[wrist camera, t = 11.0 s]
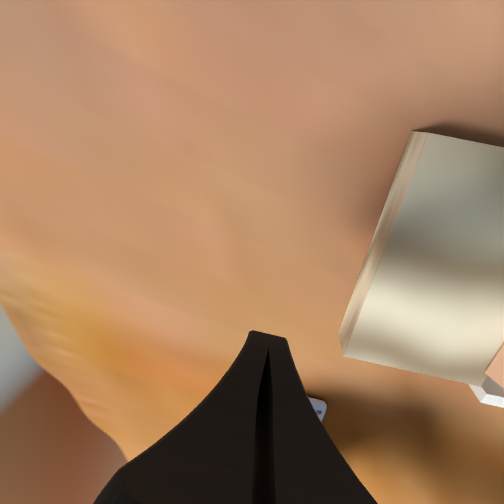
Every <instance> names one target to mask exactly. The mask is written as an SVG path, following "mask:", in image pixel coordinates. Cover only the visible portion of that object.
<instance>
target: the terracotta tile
mask: <svg viewBox="0 0 504 504" xmlns="http://www.w3.org/2000/svg"><path fill="white" fill-rule="evenodd" d="M485 374H486V375H488V376H489V377H490V378H491V379H492V380H494V381H495V382H496V383H497V384H499V385H500V386H501V387H502V388H503V389H504V344H503V346H502V347H501V349H500V350H499V352H498V353H497V355H496V356H495V358H494V359H493V361H492V362H491V364H490V365H489V367H488V368H487V370H486V371H485Z"/></svg>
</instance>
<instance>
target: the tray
mask: <svg viewBox="0 0 504 504" xmlns="http://www.w3.org/2000/svg"><path fill="white" fill-rule="evenodd" d="M469 386H470V387H471V389H472V390H473V392H474V393H475V395H476V396H477V398H478V399H479V401H480V402H481V403H485V404H489V405H494V406H498V407H503V408H504V389H503V388H502V387H501V386H500V385H499V384H497V383H496V382H495V381H494V380H492V379H491V378H490V377H489V376H487V378H486V379H485V381H484V382H483V384H482V385H481V387H479V386H475V385H471V384H469Z"/></svg>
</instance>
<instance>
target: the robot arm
mask: <svg viewBox="0 0 504 504" xmlns="http://www.w3.org/2000/svg"><path fill="white" fill-rule="evenodd" d="M326 409H327V406H326V403H325V402H324V401H322V400H318V399H314V398H309V397H308V396H307V393H306V391H305V389H304V387H303V384H302V382H301V379H300V377H299V375H298V372H297V370H296V367H295V364H294V361H293V359H292V356H291V352H290V349H289V346H288V342H287V340H286V338H283V337H279V336H275V335H271V334H266V333H262V332H258V331H254V330H252V331H250V332H249V334H248V337H247V340H246V342H245V344H244V346H243V348H242V350H241V351H240V353H239V355H238V356H237V358H236V359H235V361H234V362H233V364H232V365H231V367H230V368H229V370H228V371H227V372H226V374H225V375H224V376H223V377H222V379H221V380H220V381H219V383H218V384H217V385H216V386H215V387H214V389H213V390H212V391H211V392H210V393H209V394H208V395H207V396H206V397H205V399H204V400H203V401H202V402H201V403H200V404H199V405H198V406H197V407H196V408H195V409H194V410H193V411H192V412H191V413H190V414H189V415H188V416H187V417H185V418H184V419H183V420H182V421H181V422H180V423H179V424H178V425H177V426H175V427H174V428H173V429H172V430H170V431H169V432H168V433H167V434H166V435H164V436H163V437H162V438H161V439H160V440H158V441H157V442H156V443H155V444H153V445H152V446H151V447H149V448H148V449H147V450H145V451H144V452H142V453H141V454H140V455H138V456H137V457H135V458H134V459H133V460H131V461H130V462H128V463H127V464H125V465H124V466H123V467H121V468H120V469H119V470H118V471H117V472H116V473H115V474H114V476H113V477H112V478H111V480H110V481H109V482H108V483H107V485H106V486H105V487H104V489H103V490H102V491H101V493H100V494H99V495H98V497H97V499H96V500H95V502H94V503H93V504H378V503H377V502H376V501H375V500H374V498H373V497H372V496H371V495H370V493H369V492H368V491H367V489H366V488H365V487H364V486H363V484H362V483H361V482H360V481H359V479H358V478H357V476H356V475H355V474H354V472H353V471H352V469H351V468H350V467H349V465H348V464H347V462H346V461H345V459H344V458H343V457H342V455H341V454H340V452H339V451H338V449H337V448H336V446H335V444H334V443H333V441H332V440H331V438H330V437H329V435H328V433H327V431H326V430H325V428H324V426H323V425H322V423H321V422H322V419H323V417H324V414H325V412H326ZM317 410H320V411H317Z"/></svg>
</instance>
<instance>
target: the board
mask: <svg viewBox="0 0 504 504" xmlns="http://www.w3.org/2000/svg"><path fill="white" fill-rule="evenodd" d="M338 333H339V338H340V342H341V347H342V351H343V356H345V357H349V358H354V359H358V360H363V361H367V362H372V363H376V364H381V365H385V366H390V367H394V368H399V369H403V370H408V371H412V372H417V373H421V374H426V375H430V376H435V377H439V378H444V379H448V380H453V381H457V382H462V383H466V384H471V385H475V386H479V387H481V385H482V384H483V382H484V381H485V379H486V378H487V376H488V375H486V374H485V371H486V370H487V368H488V367H489V365H490V364H491V362H492V361H493V359H494V358H495V356H496V355H497V353H498V352H499V350H500V349H501V347H502V346H503V344H504V147H499V146H494V145H489V144H484V143H479V142H473V141H468V140H463V139H458V138H453V137H448V136H443V135H438V134H433V133H426V132H416V131H411V133H410V136H409V139H408V142H407V144H406V147H405V150H404V153H403V155H402V158H401V161H400V164H399V166H398V169H397V172H396V175H395V177H394V180H393V183H392V186H391V189H390V191H389V194H388V197H387V200H386V202H385V205H384V208H383V211H382V213H381V216H380V219H379V222H378V225H377V227H376V230H375V233H374V236H373V238H372V241H371V244H370V247H369V249H368V252H367V255H366V258H365V260H364V263H363V266H362V269H361V272H360V274H359V277H358V280H357V283H356V285H355V288H354V291H353V294H352V296H351V299H350V302H349V305H348V308H347V310H346V313H345V316H344V319H343V321H342V324H341V327H340V330H339V332H338Z"/></svg>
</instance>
